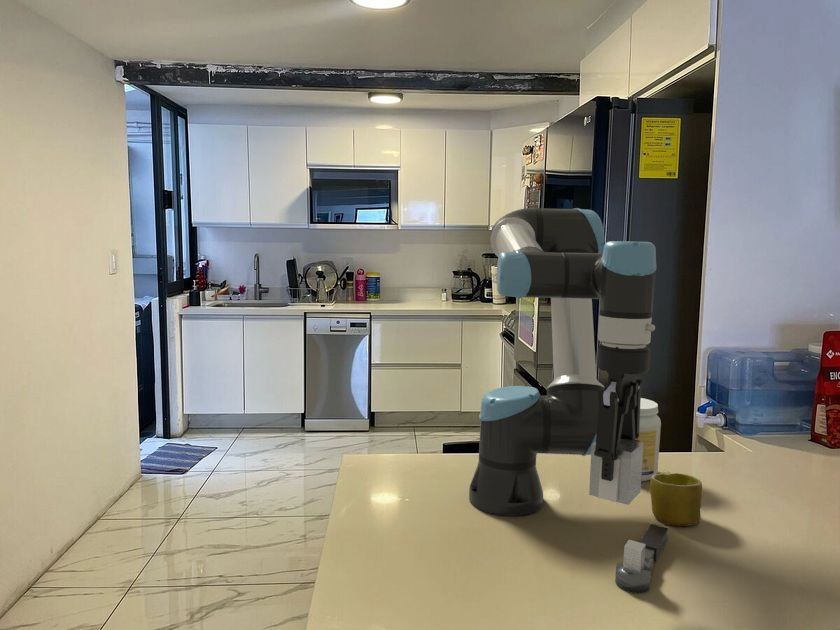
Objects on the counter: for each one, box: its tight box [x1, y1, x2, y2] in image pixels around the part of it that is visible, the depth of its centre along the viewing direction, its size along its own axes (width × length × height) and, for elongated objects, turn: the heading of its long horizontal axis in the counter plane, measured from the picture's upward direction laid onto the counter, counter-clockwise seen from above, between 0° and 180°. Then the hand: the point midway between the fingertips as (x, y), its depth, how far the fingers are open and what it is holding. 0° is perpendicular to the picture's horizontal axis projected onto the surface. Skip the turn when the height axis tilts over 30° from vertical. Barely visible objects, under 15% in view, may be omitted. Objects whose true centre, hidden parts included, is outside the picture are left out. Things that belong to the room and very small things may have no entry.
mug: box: [649, 470, 703, 527], centre depth 123 cm, size 12×10×10 cm
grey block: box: [588, 438, 644, 506], centre depth 96 cm, size 6×6×8 cm
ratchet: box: [614, 523, 669, 594], centre depth 105 cm, size 21×5×6 cm, turn 147°
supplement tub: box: [635, 397, 662, 482], centre depth 145 cm, size 12×12×17 cm
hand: (615, 491), depth 97 cm, fingers closed on grey block, 6 cm apart
